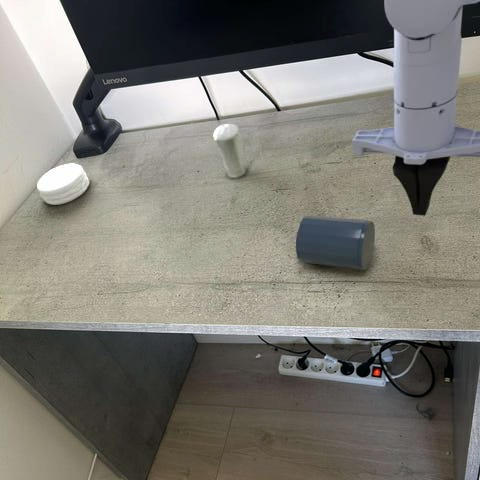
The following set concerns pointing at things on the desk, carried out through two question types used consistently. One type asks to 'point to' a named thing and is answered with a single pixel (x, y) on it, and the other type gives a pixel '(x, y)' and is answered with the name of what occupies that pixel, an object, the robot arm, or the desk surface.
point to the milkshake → (230, 149)
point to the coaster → (63, 184)
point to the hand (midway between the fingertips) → (421, 209)
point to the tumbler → (335, 242)
